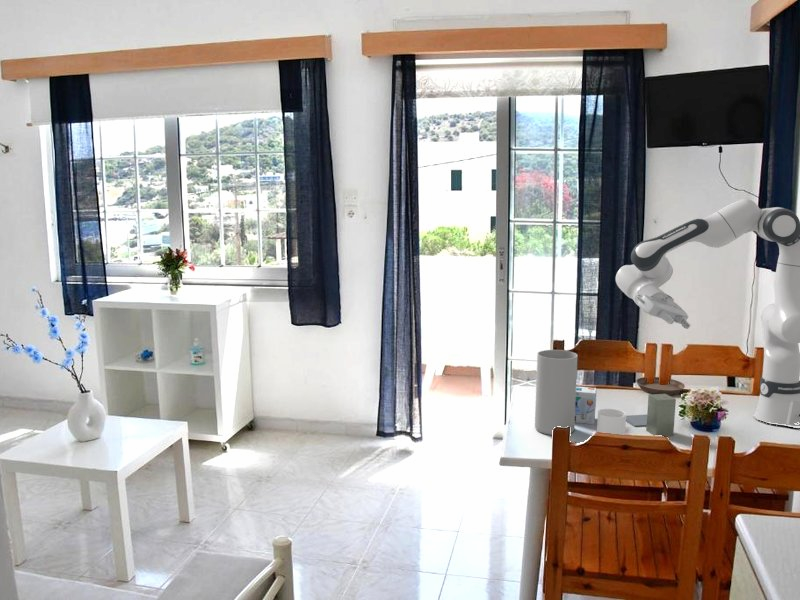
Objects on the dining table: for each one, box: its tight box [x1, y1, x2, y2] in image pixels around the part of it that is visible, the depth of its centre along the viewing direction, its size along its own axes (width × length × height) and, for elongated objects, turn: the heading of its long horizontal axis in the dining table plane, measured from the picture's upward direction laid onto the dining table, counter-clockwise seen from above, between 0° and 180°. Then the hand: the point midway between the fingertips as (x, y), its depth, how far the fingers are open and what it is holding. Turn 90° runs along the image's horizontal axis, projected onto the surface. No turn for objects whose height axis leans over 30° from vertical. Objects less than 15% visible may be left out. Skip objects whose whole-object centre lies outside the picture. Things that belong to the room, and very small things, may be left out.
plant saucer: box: [635, 376, 686, 396], centre depth 284 cm, size 18×18×3 cm
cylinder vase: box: [534, 349, 578, 436], centre depth 237 cm, size 12×12×25 cm
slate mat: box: [626, 413, 647, 428], centre depth 248 cm, size 10×10×1 cm
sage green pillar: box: [645, 393, 677, 437], centre depth 235 cm, size 6×6×12 cm
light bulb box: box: [575, 385, 597, 425], centre depth 248 cm, size 11×7×11 cm, turn 73°
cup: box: [596, 408, 627, 436], centre depth 227 cm, size 8×12×10 cm
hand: (680, 324), depth 236 cm, fingers open, 8 cm apart
